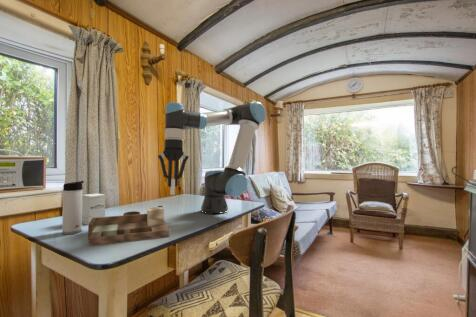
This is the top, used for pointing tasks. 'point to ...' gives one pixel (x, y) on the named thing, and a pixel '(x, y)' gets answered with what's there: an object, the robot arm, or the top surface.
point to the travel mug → (72, 208)
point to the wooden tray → (123, 229)
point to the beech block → (155, 216)
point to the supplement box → (92, 207)
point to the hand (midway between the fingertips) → (172, 194)
